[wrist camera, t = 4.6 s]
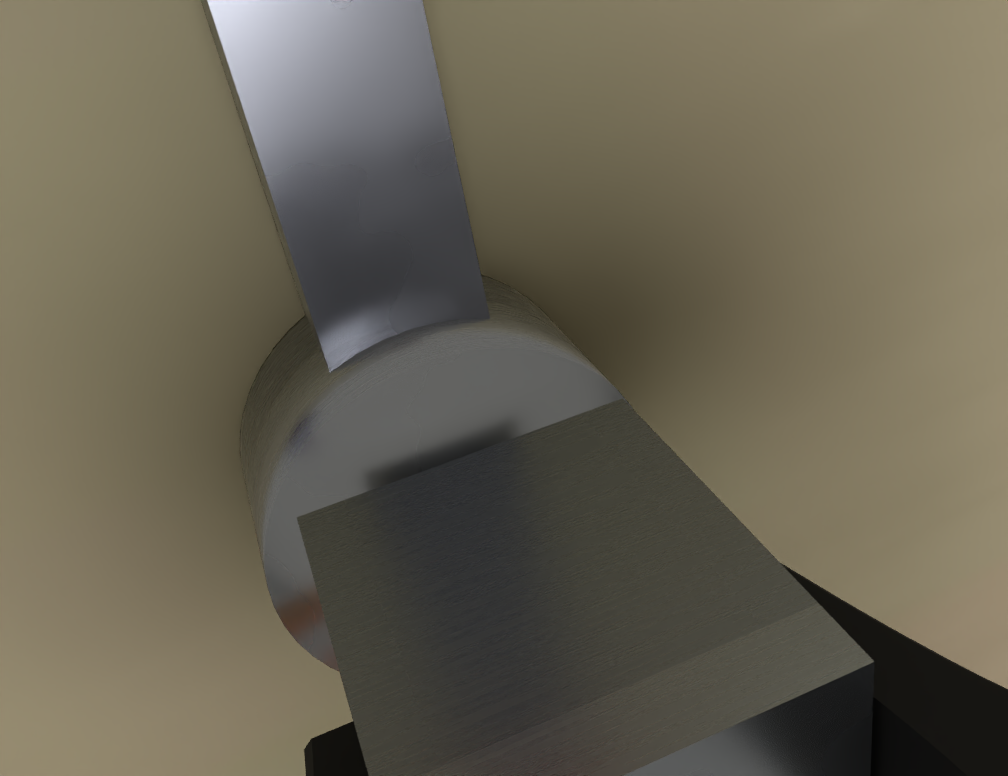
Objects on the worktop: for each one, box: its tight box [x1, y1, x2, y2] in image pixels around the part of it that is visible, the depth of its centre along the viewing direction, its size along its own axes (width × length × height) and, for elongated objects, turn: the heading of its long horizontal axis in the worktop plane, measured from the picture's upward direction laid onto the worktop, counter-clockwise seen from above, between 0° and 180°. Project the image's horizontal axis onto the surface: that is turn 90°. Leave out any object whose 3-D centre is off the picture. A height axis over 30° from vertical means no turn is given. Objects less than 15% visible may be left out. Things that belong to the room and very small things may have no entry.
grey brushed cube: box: [297, 398, 874, 776], centre depth 11 cm, size 4×4×5 cm
